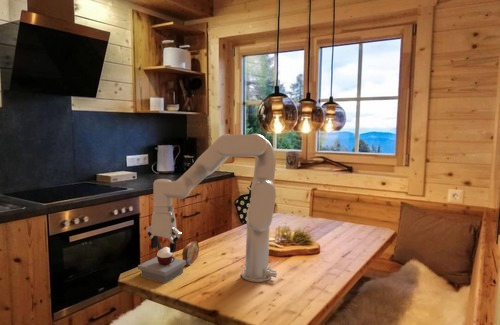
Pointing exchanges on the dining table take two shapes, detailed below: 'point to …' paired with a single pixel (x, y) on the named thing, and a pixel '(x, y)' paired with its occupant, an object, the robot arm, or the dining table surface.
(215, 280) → the dining table surface
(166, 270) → the stand
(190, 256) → the tin
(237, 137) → the robot arm
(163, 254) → the cocoa
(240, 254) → the dining table surface
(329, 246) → the dining table surface
